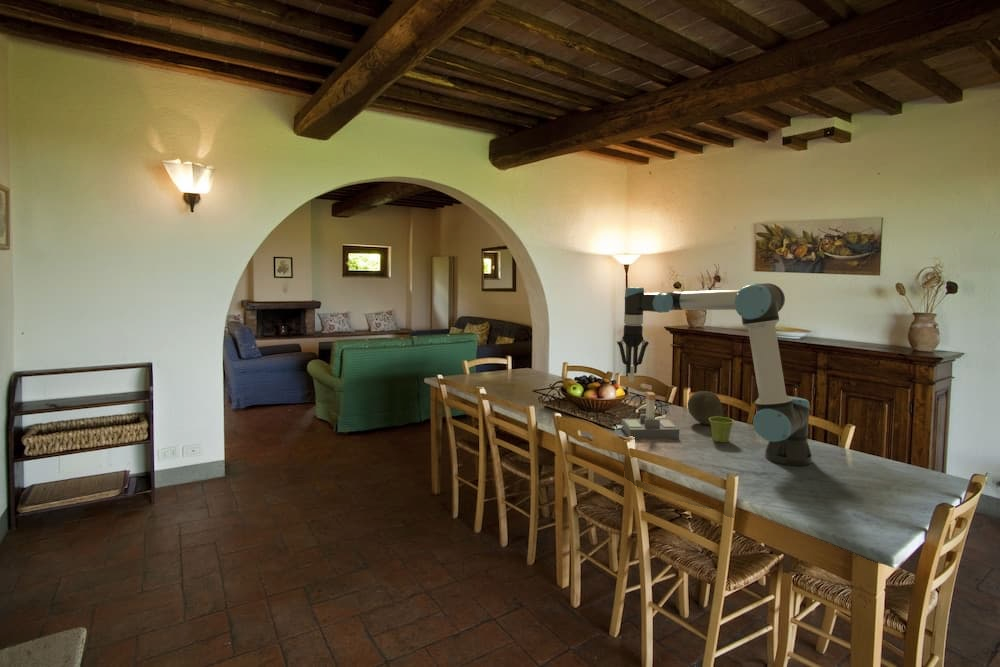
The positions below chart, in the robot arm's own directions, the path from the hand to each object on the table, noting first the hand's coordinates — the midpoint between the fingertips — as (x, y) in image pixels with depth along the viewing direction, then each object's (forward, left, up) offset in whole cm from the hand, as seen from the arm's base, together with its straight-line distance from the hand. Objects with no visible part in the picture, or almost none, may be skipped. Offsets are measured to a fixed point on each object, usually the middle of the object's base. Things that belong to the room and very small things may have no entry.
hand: (631, 380), depth 234 cm
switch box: (0, -8, -22) cm, 24 cm away
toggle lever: (0, -8, -18) cm, 20 cm away
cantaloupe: (+13, -36, -23) cm, 45 cm away
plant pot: (-10, -34, -23) cm, 42 cm away
